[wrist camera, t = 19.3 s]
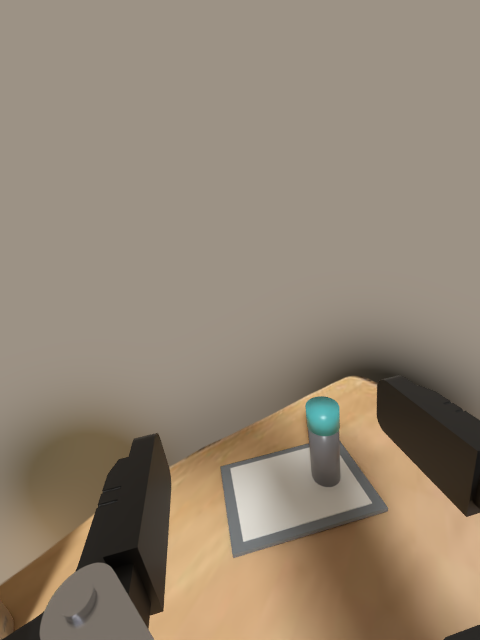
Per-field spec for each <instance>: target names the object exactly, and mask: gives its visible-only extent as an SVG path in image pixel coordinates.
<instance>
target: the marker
mask: <svg viewBox="0 0 480 640" xmlns="http://www.w3.org/2000/svg"><path fill="white" fill-rule="evenodd" d="M306 417H307V427H308V433H309V446H310V459H311V471H312V477H313V479H314V481H315V482H316V483H317V484H319V485H321V486H324V487H333V486H335V485H337V484H338V483H339V481H340V477H341V476H340V445H339V428H340V420H339V405H338V403H337V402H336V401H335V400H333V399H331V398H328V397H314V398H311V399H310V400H308V401H307V403H306Z"/></svg>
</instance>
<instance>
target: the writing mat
mask: <svg viewBox="0 0 480 640" xmlns="http://www.w3.org/2000/svg"><path fill="white" fill-rule="evenodd" d="M339 445H340V476H341V477H340V481H339V483H338V484H337V485H335V486H333V487H324V486H321V485H319V484H317V483H316V482H315V481H314V479H313V477H312V471H311V459H310V446H309V444H305V445H301V446H297V447H293V448H290V449H286V450H282V451H278V452H274V453H271V454H267V455H263V456H259V457H255V458H251V459H248V460H244V461H240V462H236V463H232V464H229V465H225V466H221V474H222V482H223V489H224V496H225V503H226V511H227V518H228V525H229V532H230V540H231V547H232V554H233V558H235V557H238V556H242V555H245V554H248V553H251V552H255V551H258V550H261V549H265V548H268V547H271V546H275V545H278V544H281V543H284V542H288V541H291V540H294V539H298V538H301V537H304V536H307V535H311V534H314V533H317V532H321V531H324V530H327V529H330V528H334V527H337V526H340V525H344V524H347V523H350V522H354V521H357V520H360V519H363V518H367V517H370V516H373V515H377V514H380V513H383V512H386V511H388V507H387V506H386V504H385V503H384V502H383V500H382V499H381V497H380V496H379V495H378V493H377V492H376V490H375V489H374V488H373V486H372V485H371V484H370V482H369V481H368V479H367V478H366V477H365V475H364V474H363V472H362V471H361V470H360V468H359V467H358V465H357V464H356V463H355V461H354V460H353V459H352V457H351V456H350V454H349V453H348V452H347V450H346V449H345V447H344V446H343V445H342V443H341V442H340V440H339Z"/></svg>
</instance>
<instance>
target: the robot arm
mask: <svg viewBox="0 0 480 640" xmlns="http://www.w3.org/2000/svg"><path fill="white" fill-rule="evenodd" d="M377 419H378V422H379V424H380V426H381V428H382V430H383V431H384V432H385V433H386V434H387V435H388V437H389V438H390V439H391V440H392V441H393V442H394V443H395V444H396V445H397V446H398V447H399V448H400V449H401V450H402V451H403V452H404V453H405V454H406V455H407V456H408V457H409V458H410V459H411V460H412V461H413V462H414V463H415V464H416V465H417V466H418V467H419V468H420V470H421V471H422V472H423V473H424V474H425V475H426V476H427V477H428V478H429V479H430V480H431V481H432V482H433V483H434V484H435V485H436V486H437V487H438V488H439V489H440V490H441V491H442V492H443V493H444V494H445V495H446V496H447V497H448V498H449V499H450V500H451V501H452V503H453V504H454V505H455V506H456V507H457V508H458V509H459V510H460V511H461V512H462V513H463V514H464V515H465V516H466V517H468V516H471V515H474V514H477V513H480V420H478V419H477V418H475V417H474V416H472V415H471V414H469V413H468V412H466V411H463V410H462V409H461V408H460V407H458V406H457V405H455V404H454V403H451V402H450V401H449V400H448V399H446V398H445V397H443V396H442V395H440V394H439V393H437V392H435V391H433V390H430V389H427V388H425V387H422V386H417V385H415V384H414V383H412V382H411V381H409V380H408V379H406V378H405V377H403V376H400V375H399V376H394V377H390V378H387V379H382V380H380V381H379V382H378V384H377ZM102 491H103V494H101V497H100V500H99V503H98V508H97V509H96V512H95V515H94V518H93V521H92V524H91V527H90V530H89V533H88V536H87V539H86V542H85V546H84V549H83V552H82V555H81V558H80V561H79V564H78V567H77V569H76V572H75V573H73V574H72V575H71V576H70V577H69V578H67V579H66V580H65V581H64V582H63V583H62V585H61V586H60V587H59V588H58V589H57V591H56V592H55V593H54V595H53V596H52V598H51V600H50V601H49V603H48V605H47V607H46V609H45V611H44V612H43V613H42V614H40V615H39V616H37V617H36V618H35V619H33V620H32V621H30V622H28V623H27V624H25V625H24V626H22V627H21V628H19V629H18V630H16V631H14V621H13V618H12V616H11V614H10V612H9V611H8V609H7V608H6V607H5V605H4V604H3V602H2V601H1V600H0V640H154V638H153V637H152V635H151V633H150V632H149V630H148V628H149V618H150V615H153V614H156V613H160V612H163V608H164V593H165V577H166V561H167V546H168V530H169V514H170V499H171V476H170V470H169V466H168V463H167V459H166V456H165V453H164V450H163V447H162V443H161V440H160V437H159V435H158V434H157V433H156V434H152V435H147V436H143V437H139V438H135V439H134V440H133V443H132V446H131V451H130V454H129V457H126V458H123V459H119V460H118V461H117V463H116V464H115V466H114V467H113V468H112V469H111V471H110V472H109V473H108V475H107V479H106V481H105V485H104V488H103V490H102ZM444 640H480V625H477V626H475V627H472V628H469V629H467V630H464V631H461V632H459V633H456V634H453V635H450V636H448V637H446V638H445V639H444Z"/></svg>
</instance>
